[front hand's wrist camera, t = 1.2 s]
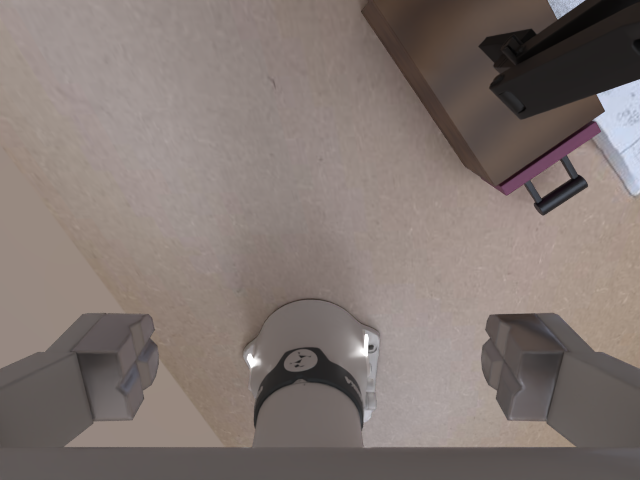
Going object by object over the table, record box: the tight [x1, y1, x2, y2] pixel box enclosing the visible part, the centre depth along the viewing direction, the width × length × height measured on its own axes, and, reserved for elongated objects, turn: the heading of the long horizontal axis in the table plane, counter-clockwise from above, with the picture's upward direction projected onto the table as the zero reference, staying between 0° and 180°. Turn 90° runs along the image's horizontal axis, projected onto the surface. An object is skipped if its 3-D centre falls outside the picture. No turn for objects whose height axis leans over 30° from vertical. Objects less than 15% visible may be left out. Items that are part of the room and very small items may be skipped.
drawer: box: [481, 121, 601, 215], centre depth 43 cm, size 25×10×7 cm, turn 38°
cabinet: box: [361, 0, 605, 187], centre depth 41 cm, size 20×11×9 cm, turn 38°
